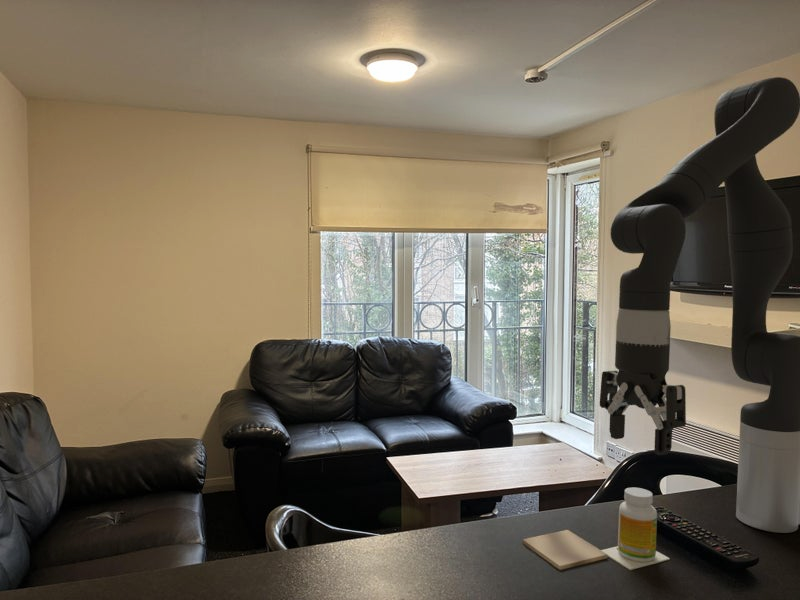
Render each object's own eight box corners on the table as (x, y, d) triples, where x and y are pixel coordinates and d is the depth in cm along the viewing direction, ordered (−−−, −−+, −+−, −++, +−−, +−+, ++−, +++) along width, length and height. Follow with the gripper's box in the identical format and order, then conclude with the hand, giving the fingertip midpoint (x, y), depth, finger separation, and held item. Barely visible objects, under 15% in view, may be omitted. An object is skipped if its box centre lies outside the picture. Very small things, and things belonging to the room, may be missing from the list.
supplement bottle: (659, 564, 86) (661, 500, 85) (620, 560, 87) (623, 497, 86) (651, 547, 91) (653, 487, 90) (615, 544, 92) (617, 484, 91)
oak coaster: (567, 533, 96) (567, 529, 96) (607, 558, 88) (607, 554, 88) (522, 543, 92) (522, 539, 92) (559, 570, 84) (560, 566, 84)
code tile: (638, 542, 93) (638, 541, 93) (669, 559, 88) (669, 558, 88) (600, 551, 90) (600, 550, 90) (630, 570, 84) (630, 568, 84)
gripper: (701, 344, 82) (696, 457, 83) (625, 333, 95) (621, 431, 96) (663, 346, 79) (658, 463, 80) (589, 335, 92) (586, 435, 93)
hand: (638, 445), depth 88 cm, fingers open, 8 cm apart
